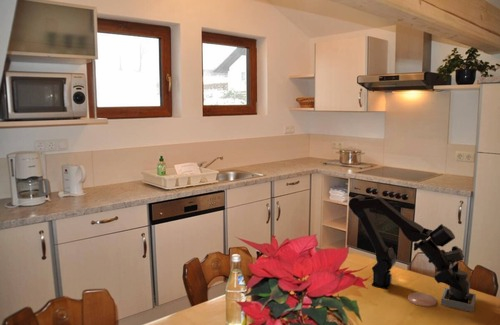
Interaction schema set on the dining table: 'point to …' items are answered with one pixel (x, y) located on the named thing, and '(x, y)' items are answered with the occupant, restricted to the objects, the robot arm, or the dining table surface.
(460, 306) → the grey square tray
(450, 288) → the supplement bottle
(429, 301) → the coaster
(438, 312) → the dining table surface
